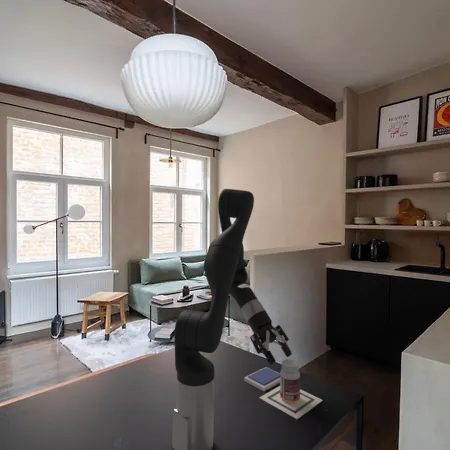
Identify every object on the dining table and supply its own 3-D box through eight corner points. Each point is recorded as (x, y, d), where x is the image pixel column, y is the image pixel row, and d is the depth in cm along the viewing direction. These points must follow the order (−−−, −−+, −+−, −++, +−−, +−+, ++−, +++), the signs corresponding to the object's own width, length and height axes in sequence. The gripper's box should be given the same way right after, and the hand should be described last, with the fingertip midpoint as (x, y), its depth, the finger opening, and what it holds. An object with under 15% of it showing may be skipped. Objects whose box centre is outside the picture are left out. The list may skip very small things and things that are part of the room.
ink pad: (263, 391, 102) (264, 386, 102) (244, 380, 109) (244, 376, 109) (285, 379, 110) (285, 374, 110) (266, 370, 117) (266, 365, 117)
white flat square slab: (297, 419, 88) (297, 418, 88) (259, 398, 98) (259, 397, 98) (322, 400, 98) (322, 399, 98) (285, 383, 108) (285, 382, 108)
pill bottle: (304, 400, 97) (304, 364, 97) (290, 406, 94) (290, 369, 94) (289, 391, 102) (289, 356, 102) (275, 397, 99) (276, 361, 99)
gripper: (247, 313, 102) (274, 360, 94) (275, 306, 112) (301, 348, 103) (236, 325, 106) (261, 371, 98) (263, 317, 116) (288, 358, 107)
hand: (281, 359), depth 101 cm, fingers open, 8 cm apart
